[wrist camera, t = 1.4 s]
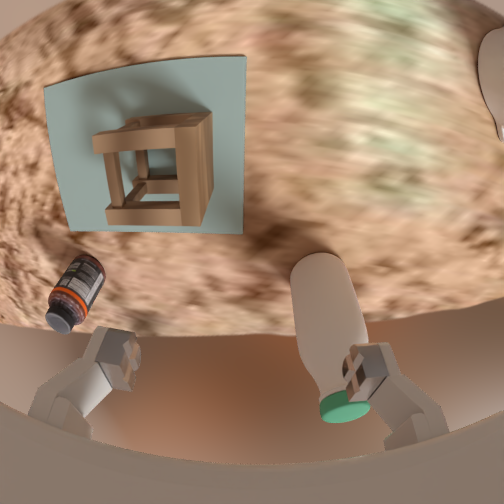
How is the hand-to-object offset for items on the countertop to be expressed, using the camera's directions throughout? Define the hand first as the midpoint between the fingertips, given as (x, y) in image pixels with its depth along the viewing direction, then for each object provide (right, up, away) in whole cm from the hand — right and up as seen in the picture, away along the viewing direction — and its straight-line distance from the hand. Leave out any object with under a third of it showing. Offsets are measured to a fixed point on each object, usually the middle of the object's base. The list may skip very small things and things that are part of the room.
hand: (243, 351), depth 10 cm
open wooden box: (-8, +14, +18) cm, 25 cm away
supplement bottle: (-24, +1, +29) cm, 37 cm away
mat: (-12, +14, +19) cm, 27 cm away
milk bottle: (+9, +1, +28) cm, 29 cm away
